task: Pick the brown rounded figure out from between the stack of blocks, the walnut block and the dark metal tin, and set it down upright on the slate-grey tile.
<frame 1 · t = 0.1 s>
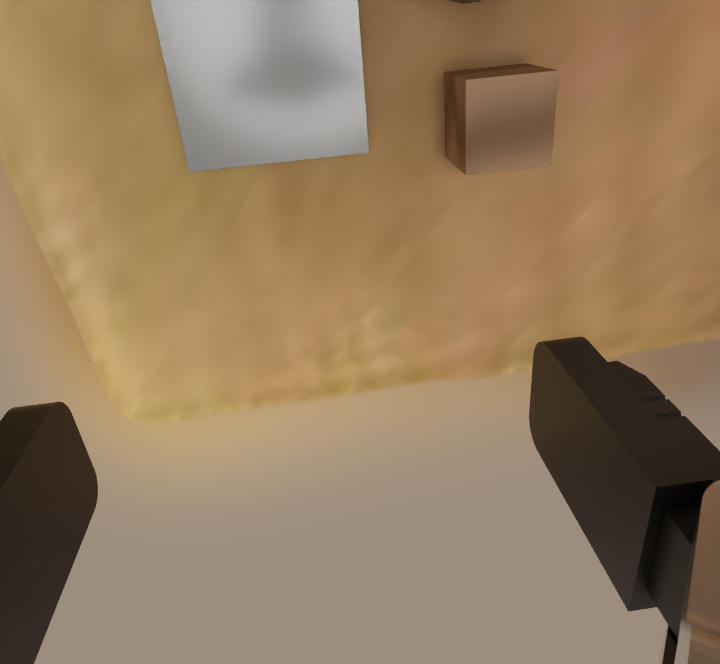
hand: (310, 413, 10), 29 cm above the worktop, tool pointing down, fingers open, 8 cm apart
walnut block: (483, 111, 36), on the worktop
slate tile: (265, 62, 34), on the worktop
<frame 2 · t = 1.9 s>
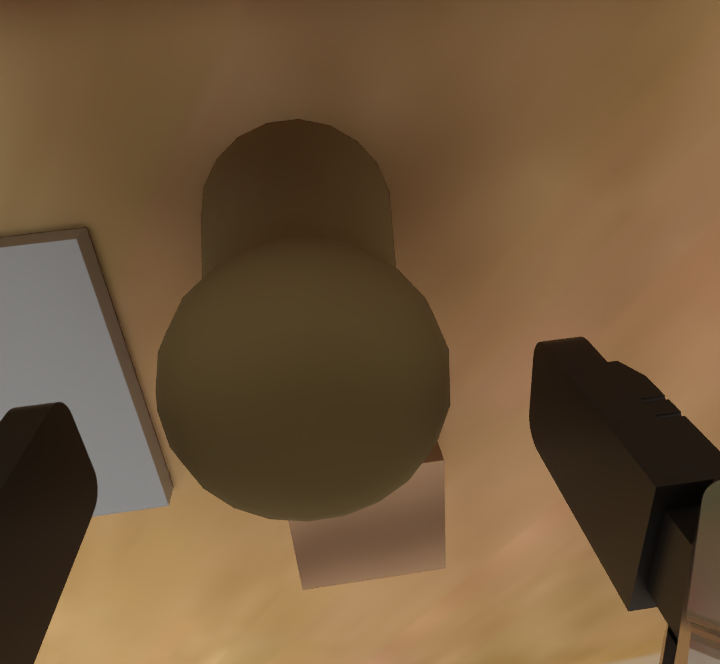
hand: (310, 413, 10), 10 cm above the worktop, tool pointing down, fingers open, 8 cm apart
walnut block: (353, 431, 23), on the worktop
brown rounded figure: (298, 216, 19), on the worktop
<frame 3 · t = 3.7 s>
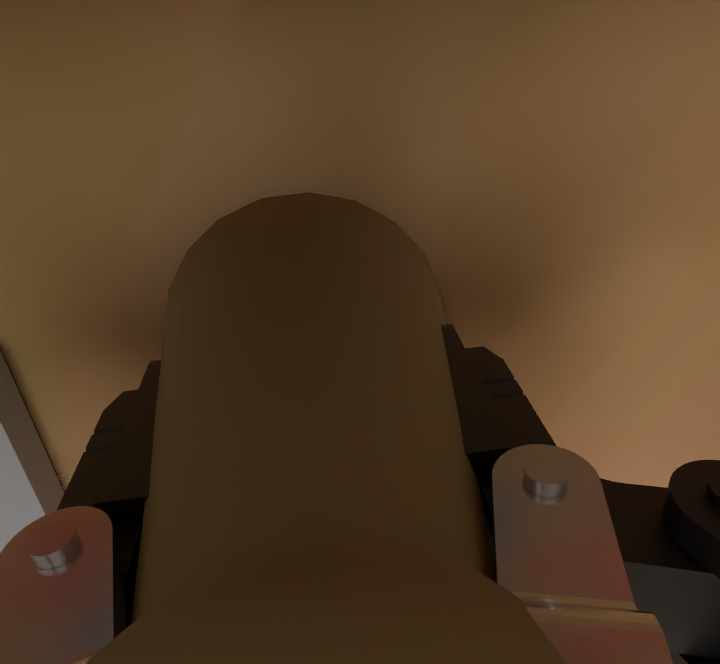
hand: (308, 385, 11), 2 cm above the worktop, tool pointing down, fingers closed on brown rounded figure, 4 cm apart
brown rounded figure: (307, 323, 13), on the worktop, touching gripper
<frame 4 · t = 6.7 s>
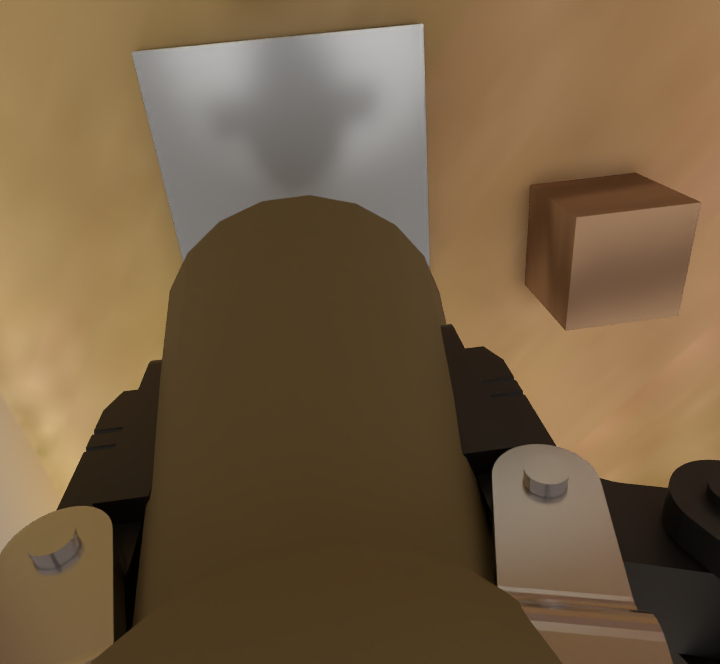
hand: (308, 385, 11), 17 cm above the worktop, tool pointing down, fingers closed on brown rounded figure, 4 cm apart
walnut block: (577, 230, 28), on the worktop
slate tile: (298, 177, 25), on the worktop
brown rounded figure: (307, 325, 13), point 14 cm above the worktop, touching gripper
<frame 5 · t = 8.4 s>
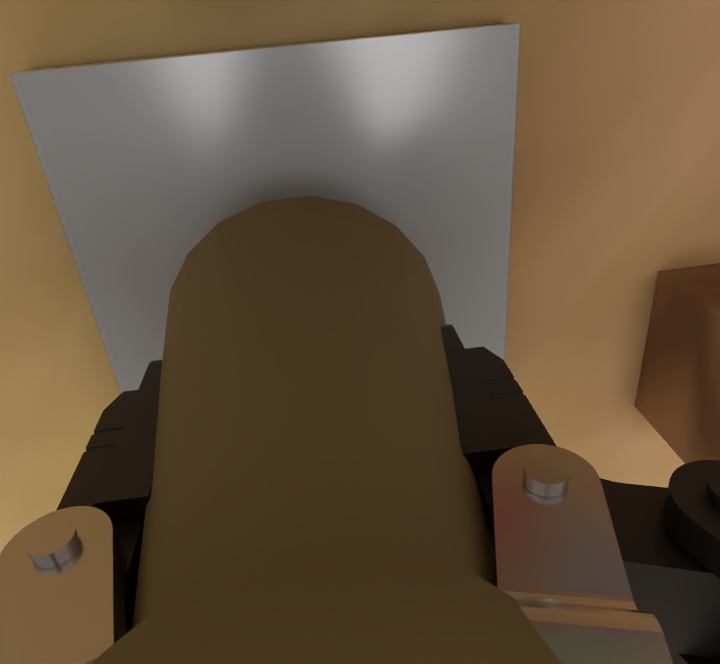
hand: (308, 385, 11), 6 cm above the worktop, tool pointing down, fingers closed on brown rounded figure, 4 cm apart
walnut block: (719, 331, 19), on the worktop
slate tile: (303, 266, 16), on the worktop
brown rounded figure: (307, 326, 13), point 3 cm above the worktop, touching gripper
when the fingers open (5 cm above the worktop, at t = 9.6 s): brown rounded figure stays where it is, resting on slate tile.
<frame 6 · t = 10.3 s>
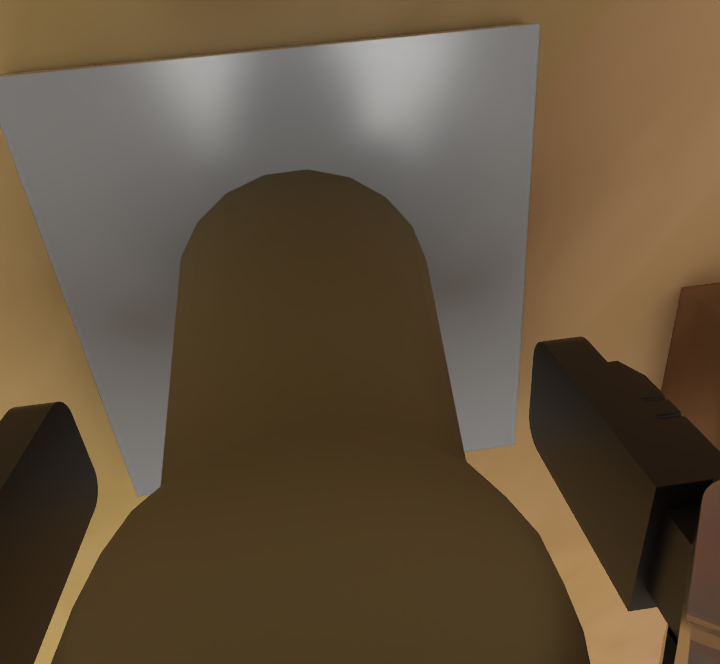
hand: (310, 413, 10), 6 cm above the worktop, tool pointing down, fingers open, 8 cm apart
slate tile: (303, 283, 15), on the worktop
brown rounded figure: (306, 291, 14), point 1 cm above the worktop, touching slate tile
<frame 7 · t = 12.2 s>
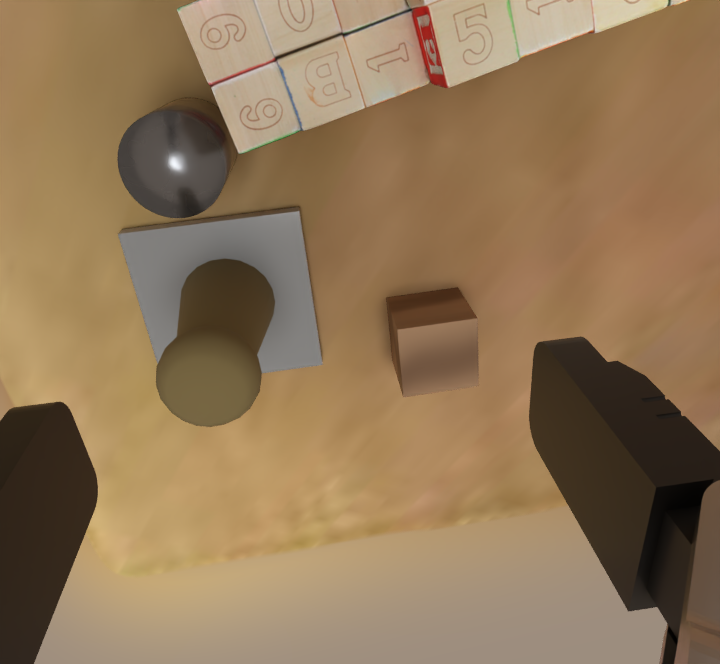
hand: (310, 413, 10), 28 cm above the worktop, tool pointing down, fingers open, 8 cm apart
walnut block: (423, 324, 41), on the worktop
metal tin: (194, 143, 34), on the worktop
stack of blocks: (407, 5, 32), on the worktop
slate tile: (229, 298, 39), on the worktop
brown rounded figure: (228, 301, 38), point 1 cm above the worktop, touching slate tile
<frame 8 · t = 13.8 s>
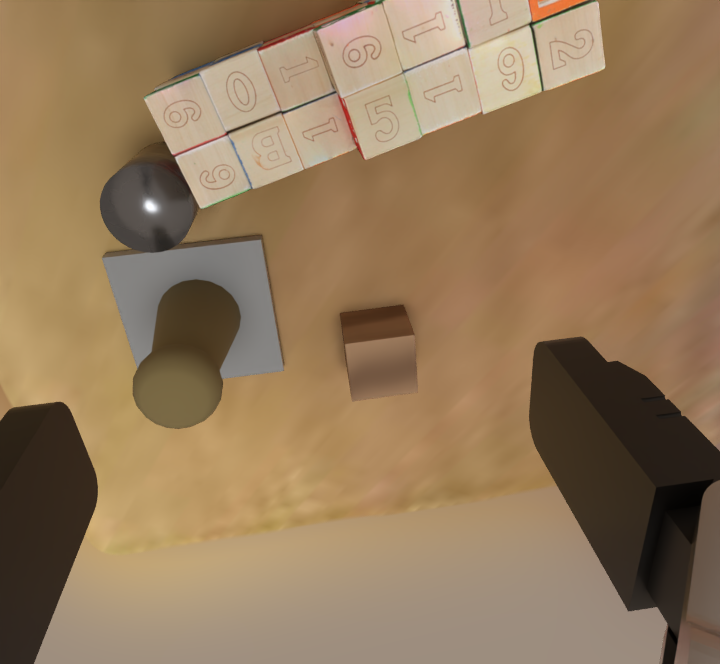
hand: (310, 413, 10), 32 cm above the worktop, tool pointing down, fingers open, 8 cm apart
walnut block: (374, 336, 47), on the worktop
metal tin: (168, 180, 39), on the worktop
stack of blocks: (349, 64, 37), on the worktop
slate tile: (200, 312, 44), on the worktop
brown rounded figure: (199, 315, 43), point 1 cm above the worktop, touching slate tile
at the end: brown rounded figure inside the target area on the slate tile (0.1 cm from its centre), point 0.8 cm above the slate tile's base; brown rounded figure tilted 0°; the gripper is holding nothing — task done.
